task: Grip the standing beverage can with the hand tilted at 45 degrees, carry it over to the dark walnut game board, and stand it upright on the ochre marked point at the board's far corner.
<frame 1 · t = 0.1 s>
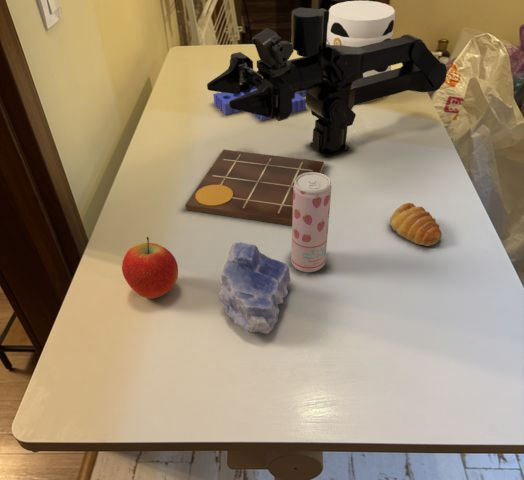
hand: (218, 95, 93), 17 cm above the table, tool horizontal, fingers open, 9 cm apart
beverage can: (308, 263, 87), on the table
board: (258, 187, 103), on the table
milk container: (353, 92, 133), on the table
building block: (263, 99, 131), on the table
mineral: (253, 308, 80), on the table
apple: (155, 292, 83), on the table
pastry: (414, 231, 92), on the table
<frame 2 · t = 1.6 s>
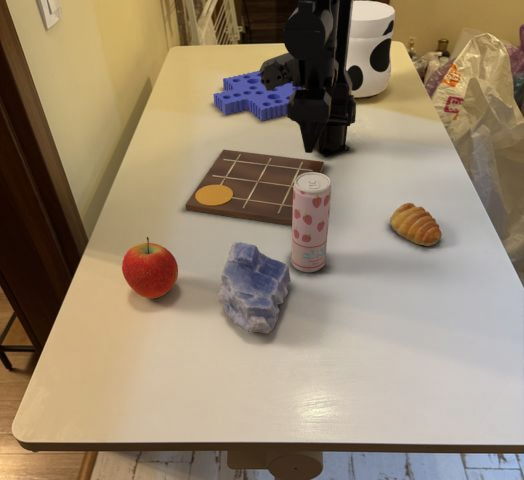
hand: (311, 139, 88), 13 cm above the table, tool pointing down, fingers open, 9 cm apart
nothing on the table moved.
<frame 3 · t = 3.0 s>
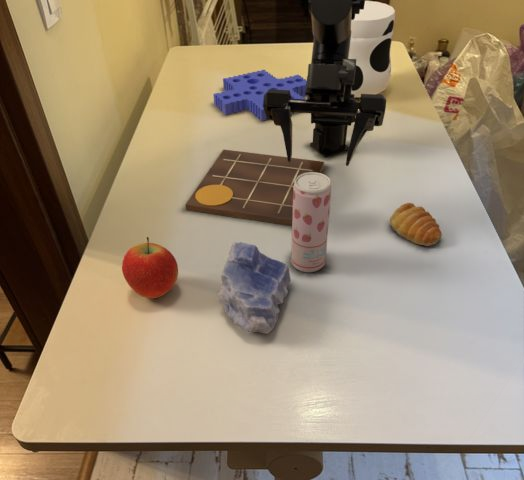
hand: (317, 163, 82), 13 cm above the table, tool tilted 45°, fingers open, 9 cm apart
nothing on the table moved.
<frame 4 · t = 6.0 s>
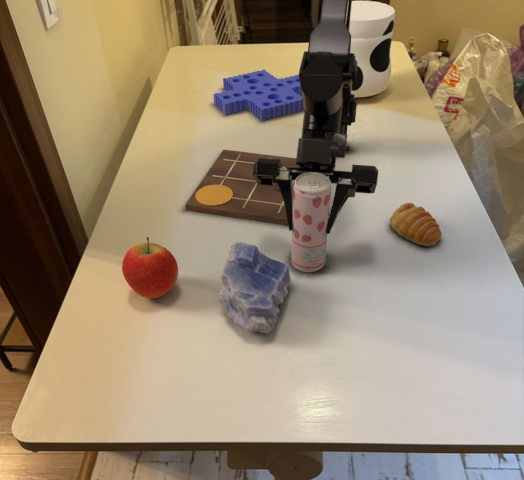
hand: (308, 232, 81), 7 cm above the table, tool tilted 45°, fingers closed on beverage can, 5 cm apart
beverage can: (308, 263, 87), on the table, touching gripper
everything else where it was.
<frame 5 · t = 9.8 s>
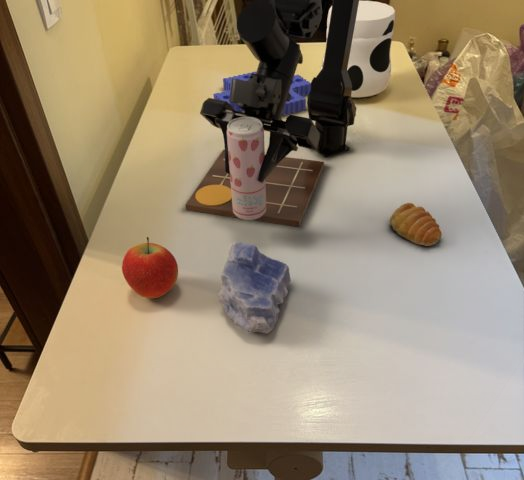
hand: (243, 177, 82), 12 cm above the table, tool tilted 45°, fingers closed on beverage can, 5 cm apart
beverage can: (249, 212, 88), point 5 cm above the table, touching gripper
everything else where it was.
when the fingers open (9 cm above the table, at t = 13.7 s): beverage can stays where it is, resting on board.
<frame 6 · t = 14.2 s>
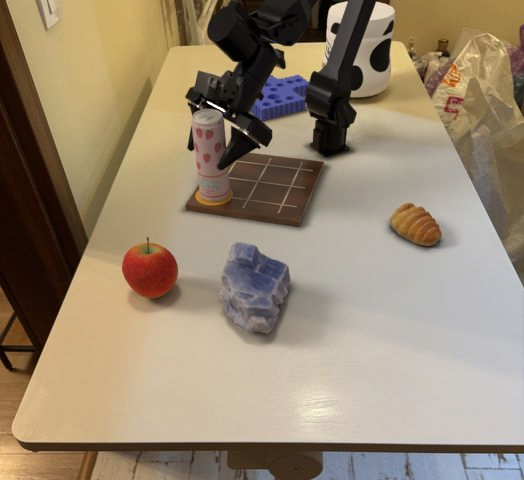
hand: (203, 159, 92), 9 cm above the table, tool tilted 45°, fingers open, 9 cm apart
beverage can: (215, 195, 99), point 1 cm above the table, touching board
everything else where it was.
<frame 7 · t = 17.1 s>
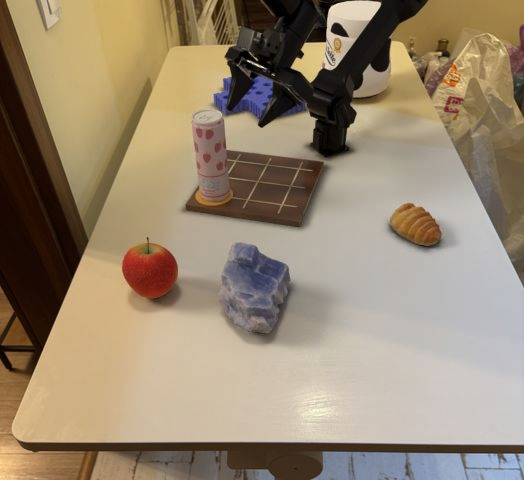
hand: (243, 118, 93), 14 cm above the table, tool tilted 45°, fingers open, 9 cm apart
nothing on the table moved.
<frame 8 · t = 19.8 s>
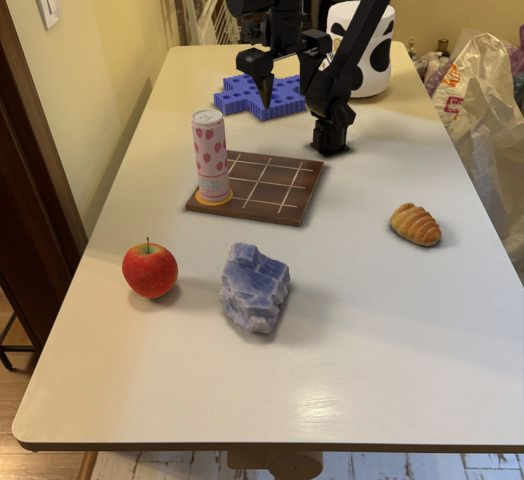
hand: (284, 101, 99), 13 cm above the table, tool pointing down, fingers open, 9 cm apart
nothing on the table moved.
at the end: beverage can 0.2 cm from the target spot on the board, point 1.2 cm above the board's base; beverage can tilted 0°; the gripper is holding nothing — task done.
